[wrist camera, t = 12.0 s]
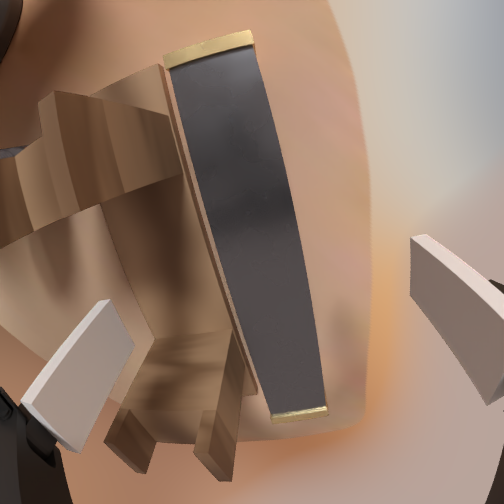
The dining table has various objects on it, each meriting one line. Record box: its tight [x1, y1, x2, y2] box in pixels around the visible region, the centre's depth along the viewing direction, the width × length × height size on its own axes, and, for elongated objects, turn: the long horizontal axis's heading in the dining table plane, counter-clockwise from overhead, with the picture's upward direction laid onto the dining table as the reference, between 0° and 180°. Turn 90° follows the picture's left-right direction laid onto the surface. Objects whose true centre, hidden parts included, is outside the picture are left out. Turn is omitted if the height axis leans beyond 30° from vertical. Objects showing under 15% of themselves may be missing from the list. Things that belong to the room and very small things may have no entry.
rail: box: [163, 30, 329, 424], centre depth 17 cm, size 24×4×6 cm, turn 14°
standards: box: [0, 64, 258, 481], centre depth 15 cm, size 7×28×12 cm, turn 14°
